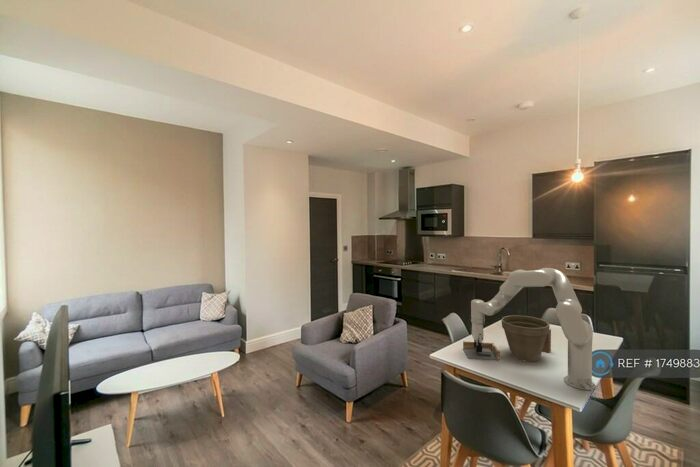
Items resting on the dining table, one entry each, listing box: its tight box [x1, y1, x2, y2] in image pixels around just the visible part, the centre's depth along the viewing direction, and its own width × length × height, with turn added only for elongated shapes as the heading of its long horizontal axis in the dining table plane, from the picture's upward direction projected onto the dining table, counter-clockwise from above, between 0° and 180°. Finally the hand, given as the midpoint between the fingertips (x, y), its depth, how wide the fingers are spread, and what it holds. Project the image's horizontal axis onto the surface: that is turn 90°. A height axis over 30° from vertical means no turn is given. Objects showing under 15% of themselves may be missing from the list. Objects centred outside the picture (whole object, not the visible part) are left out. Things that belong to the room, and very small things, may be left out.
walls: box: [462, 340, 501, 361], centre depth 185 cm, size 14×18×5 cm
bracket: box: [475, 339, 492, 355], centre depth 184 cm, size 8×5×8 cm, turn 80°
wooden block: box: [542, 328, 552, 353], centre depth 192 cm, size 4×11×18 cm, turn 36°
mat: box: [463, 349, 501, 361], centre depth 185 cm, size 14×18×1 cm
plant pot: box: [501, 314, 551, 363], centre depth 181 cm, size 25×25×22 cm
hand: (478, 349), depth 185 cm, fingers closed on bracket, 5 cm apart
